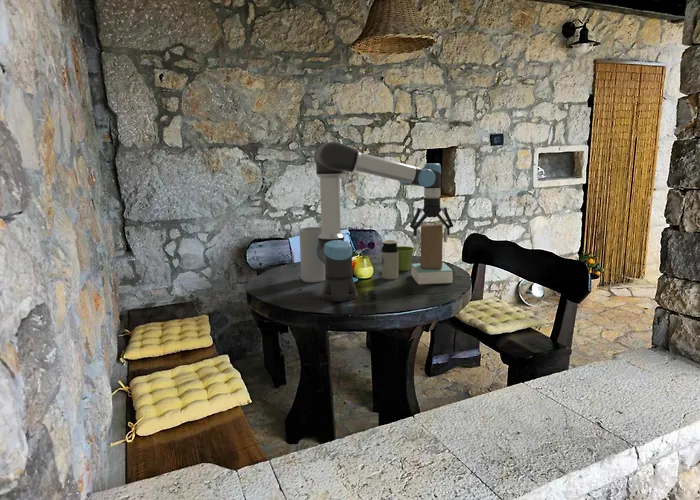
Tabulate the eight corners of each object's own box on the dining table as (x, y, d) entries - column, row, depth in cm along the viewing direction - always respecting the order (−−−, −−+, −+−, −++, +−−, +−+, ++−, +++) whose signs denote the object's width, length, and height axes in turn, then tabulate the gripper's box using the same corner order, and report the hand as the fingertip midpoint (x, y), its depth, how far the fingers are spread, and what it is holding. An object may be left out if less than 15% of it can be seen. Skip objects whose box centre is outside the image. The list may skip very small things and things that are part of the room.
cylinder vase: (324, 275, 237) (322, 226, 232) (329, 281, 225) (327, 230, 220) (299, 277, 234) (297, 228, 229) (303, 284, 222) (301, 231, 217)
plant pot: (391, 267, 251) (390, 246, 248) (413, 266, 250) (413, 246, 248) (392, 272, 239) (392, 250, 237) (415, 272, 239) (415, 250, 236)
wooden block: (442, 269, 218) (442, 227, 214) (420, 269, 220) (420, 227, 216) (441, 264, 227) (442, 223, 223) (421, 264, 229) (421, 223, 225)
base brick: (418, 284, 216) (418, 271, 215) (411, 275, 232) (411, 263, 231) (452, 282, 217) (452, 270, 216) (443, 274, 233) (443, 262, 232)
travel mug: (398, 275, 233) (398, 239, 229) (398, 279, 225) (398, 242, 222) (382, 275, 234) (381, 240, 230) (381, 279, 226) (381, 243, 222)
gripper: (406, 198, 213) (406, 244, 217) (461, 197, 214) (459, 243, 218) (403, 197, 220) (403, 241, 224) (456, 196, 221) (455, 240, 225)
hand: (431, 242), depth 221 cm, fingers open, 13 cm apart
